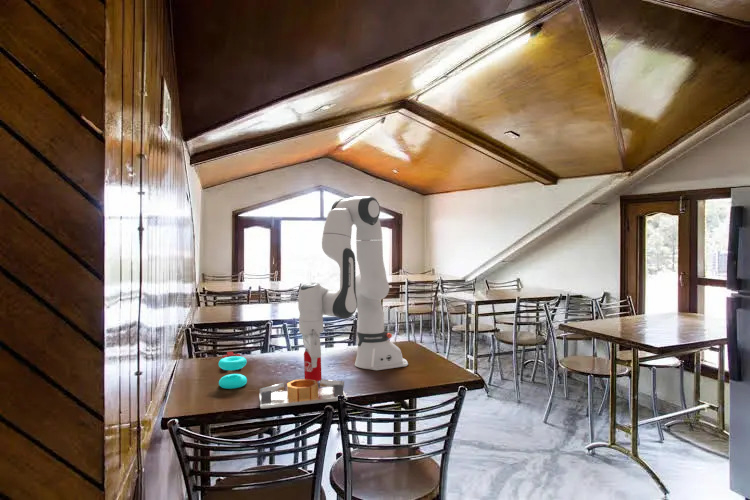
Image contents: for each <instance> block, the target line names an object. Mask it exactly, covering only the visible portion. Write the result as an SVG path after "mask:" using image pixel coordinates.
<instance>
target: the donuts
mask: <svg viewBox="0 0 750 500" xmlns="http://www.w3.org/2000/svg"><path fill="white" fill-rule="evenodd" d="M247 362H248V361H247V359H246V357H243V356H231V357H225V358H223V359H222V358H221V359H219V361H218V364H217V365H218V367H219V368H220V369H222V370H223V369H224V370H225V371H236V370H237V371H238V370H242V369H243V368H244V367H245V366H246V365H247ZM241 368H242V369H241ZM224 370H223V371H224ZM247 382H248V379H247V376H245V375H243V374H242V373H230V374H226V375H224V376H222V377H221V378H220V379H219V381H218V385H219V387H220V388H222V389H229V390H232V389H239V388H242V387H244V386H246V384H247Z"/></svg>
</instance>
